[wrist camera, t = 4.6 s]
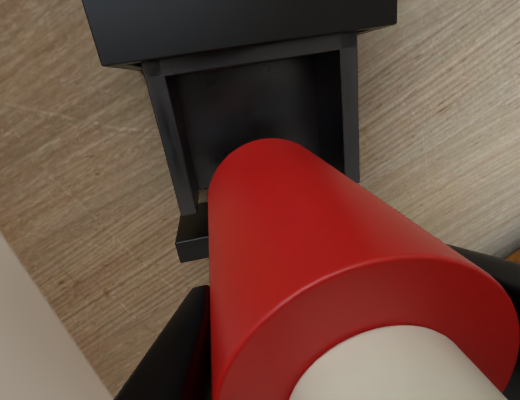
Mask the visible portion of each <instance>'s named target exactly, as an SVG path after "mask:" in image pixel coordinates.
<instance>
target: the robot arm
mask: <svg viewBox="0 0 520 400" xmlns="http://www.w3.org/2000/svg"><path fill="white" fill-rule="evenodd" d="M446 245H448V244H446ZM448 246H449V247H450V248H452V249H453V250H455V251H456V252H458V253H459V254H461V255H462V256H464V257H465V258H467V259H468V260H469V261H471V262H472V263H474V264H475V265H477V266H478V267H480V268H481V269H483V270H484V271H485V272H487V273H488V274H490V275H491V276H492V277H493V278H494V279H495V280H496V281H497V282H498V283H499V284H500V285H501V286H502V287H503V288H504V290H505V291H506V293H507V294H508V296H509V297H510V299H511V300H512V303H513V305H514V307H515V310H516V312H517V315H518V320H519V325H520V263H516V262H512V261H509V260H505V259H501V258H497V257H494V256H490V255H486V254H482V253H478V252H475V251H471V250H467V249H463V248H460V247H456V246H452V245H448ZM502 394H503V395H504V396H505V397H506V398H507V399H508V400H520V346H519V352H518V358H517V361H516V364H515V367H514V371H513V373H512V375H511V377H510V380H509V382H508V384H507V386H506V388H505V389H504V391H503V393H502ZM114 400H212V376H211V327H210V287H209V286H208V285H203V286H199V287H194V288H193V289H191V291H190V292H189V294H188V295H187V296H186V298H185V299H184V301H183V302H182V304H181V305H180V306H179V308H178V309H177V311H176V312H175V314H174V315H173V316H172V318H171V319H170V321H169V322H168V323H167V325H166V326H165V328H164V329H163V331H162V332H161V333H160V335H159V336H158V338H157V339H156V340H155V342H154V343H153V345H152V346H151V348H150V349H149V350H148V352H147V353H146V355H145V356H144V357H143V359H142V360H141V362H140V363H139V365H138V366H137V367H136V369H135V370H134V372H133V373H132V375H131V376H130V377H129V379H128V380H127V382H126V383H125V384H124V386H123V387H122V389H121V390H120V392H119V393H118V394H117V396H116V397H115V399H114Z"/></svg>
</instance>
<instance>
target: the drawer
mask: <svg viewBox="0 0 520 400" xmlns="http://www.w3.org/2000/svg"><path fill="white" fill-rule="evenodd" d="M141 65H142V69H143V73H144V77H145V80H146V83H147V87H148V91H149V95H150V99H151V102H152V106H153V110H154V114H155V118H156V121H157V125H158V129H159V133H160V137H161V140H162V144H163V148H164V152H165V156H166V159H167V163H168V167H169V171H170V175H171V178H172V182H173V186H174V190H175V194H176V198H177V201H178V205H179V209H180V213H181V216H180V221H179V226H178V231H177V236H176V242H175V245H176V249H177V252H178V256H179V259H180V262H181V263H183V262H188V261H193V260H198V259H203V258H208V257H209V231H208V202H206V203H200V204H198V200H199V190H201V189H207V188H209V186H210V183H211V180H212V177H213V175H214V173H215V171H216V170H217V168H218V166H219V165H220V164H221V163H222V161H223V160H224V159H225V158H226V157H227V156H228V155H229V154H230V153H232V152H233V151H234V150H236V149H237V148H239V147H241V146H243V145H244V144H247V143H249V142H252V141H256V140H259V139H266V138H279V139H285V140H289V141H292V142H295V143H297V144H299V145H301V146H303V147H304V148H306V149H308V150H309V151H310V152H312V153H313V154H315V155H316V156H318V157H319V158H321V159H322V160H324V161H325V162H327V163H328V164H329V165H331V166H332V167H334V168H335V169H337V170H338V171H340V172H341V173H343V174H344V175H345V176H347V177H348V178H350V179H351V180H353V181H354V182H356V183H359V182H360V172H359V122H358V71H357V31H354V32H347V33H340V34H333V35H326V36H319V37H313V38H306V39H299V40H292V41H285V42H278V43H271V44H264V45H257V46H250V47H243V48H237V49H230V50H223V51H216V52H209V53H202V54H195V55H188V56H181V57H174V58H168V59H161V60H154V61H147V62H141Z"/></svg>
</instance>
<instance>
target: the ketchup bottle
mask: <svg viewBox="0 0 520 400" xmlns="http://www.w3.org/2000/svg"><path fill="white" fill-rule="evenodd" d="M208 231H209V280H210V327H211V376H212V400H508V399H507V398H506V397H505V396H504V395H503V394H502V393H503V391H504V389H505V388H506V386H507V384H508V382H509V380H510V377H511V375H512V373H513V371H514V367H515V364H516V361H517V358H518V352H519V346H520V325H519V320H518V315H517V312H516V310H515V307H514V305H513V303H512V300H511V299H510V297H509V296H508V294H507V293H506V291H505V290H504V288H503V287H502V286H501V285H500V284H499V283H498V282H497V281H496V280H495V279H494V278H493V277H492V276H491V275H490V274H488V273H487V272H485V271H484V270H483V269H481V268H480V267H478V266H477V265H475V264H474V263H472V262H471V261H469V260H468V259H467V258H465V257H464V256H462V255H461V254H459V253H458V252H456V251H455V250H453V249H452V248H450V247H449V246H448V245H446V244H445V243H443V242H442V241H440V240H439V239H437V238H436V237H434V236H433V235H432V234H430V233H429V232H427V231H426V230H424V229H423V228H421V227H420V226H418V225H417V224H415V223H414V222H413V221H411V220H410V219H408V218H407V217H405V216H404V215H402V214H401V213H399V212H398V211H397V210H395V209H394V208H392V207H391V206H389V205H388V204H386V203H385V202H383V201H382V200H380V199H379V198H378V197H376V196H375V195H373V194H372V193H370V192H369V191H367V190H366V189H364V188H363V187H362V186H360V185H359V184H357V183H356V182H354V181H353V180H351V179H350V178H348V177H347V176H345V175H344V174H343V173H341V172H340V171H338V170H337V169H335V168H334V167H332V166H331V165H329V164H328V163H327V162H325V161H324V160H322V159H321V158H319V157H318V156H316V155H315V154H313V153H312V152H310V151H309V150H308V149H306V148H304V147H303V146H301V145H299V144H297V143H295V142H292V141H289V140H285V139H279V138H266V139H259V140H256V141H252V142H249V143H247V144H244V145H243V146H241V147H239V148H237V149H236V150H234V151H233V152H232V153H230V154H229V155H228V156H227V157H226V158H225V159H224V160H223V161H222V163H221V164H220V165H219V166H218V168H217V170H216V171H215V173H214V175H213V177H212V180H211V183H210V186H209V191H208Z"/></svg>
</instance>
